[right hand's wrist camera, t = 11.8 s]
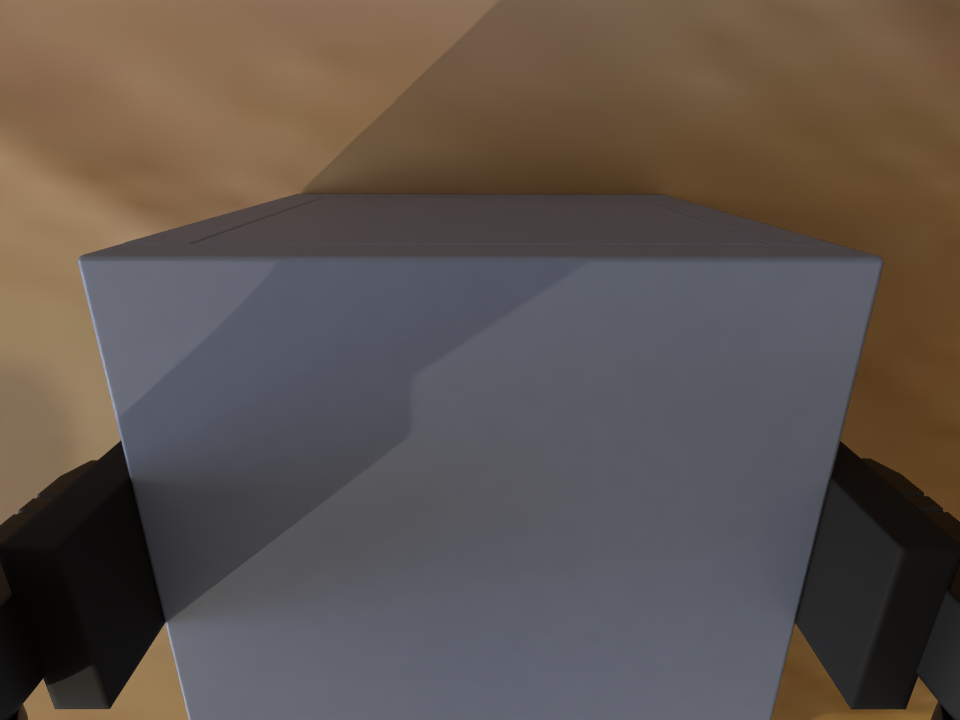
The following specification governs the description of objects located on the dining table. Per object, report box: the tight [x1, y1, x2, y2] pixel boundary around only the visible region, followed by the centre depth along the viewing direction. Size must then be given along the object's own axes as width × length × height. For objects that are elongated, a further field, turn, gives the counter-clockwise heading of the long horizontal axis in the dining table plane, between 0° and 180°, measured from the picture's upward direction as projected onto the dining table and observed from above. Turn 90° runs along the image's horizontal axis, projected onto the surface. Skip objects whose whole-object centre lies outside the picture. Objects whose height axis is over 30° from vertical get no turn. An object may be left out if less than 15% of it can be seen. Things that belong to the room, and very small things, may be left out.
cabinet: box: [78, 194, 884, 720], centre depth 15 cm, size 18×10×9 cm, turn 0°
